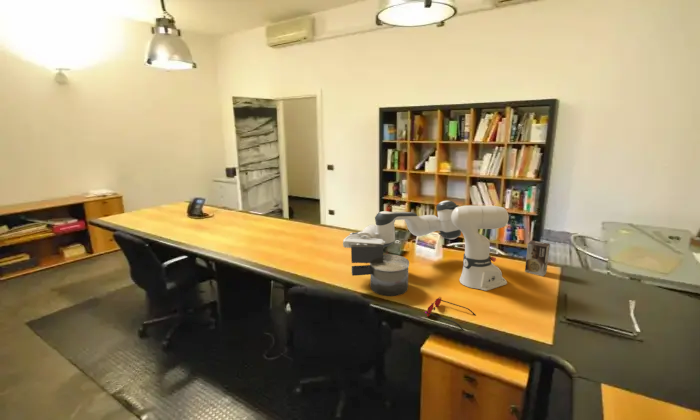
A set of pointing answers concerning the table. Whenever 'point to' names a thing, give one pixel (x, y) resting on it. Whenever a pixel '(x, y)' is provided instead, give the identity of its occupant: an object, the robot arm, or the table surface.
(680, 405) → the table surface
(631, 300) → the table surface
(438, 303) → the glasses
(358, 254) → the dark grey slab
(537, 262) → the coffee box
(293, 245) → the table surface
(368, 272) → the pot
